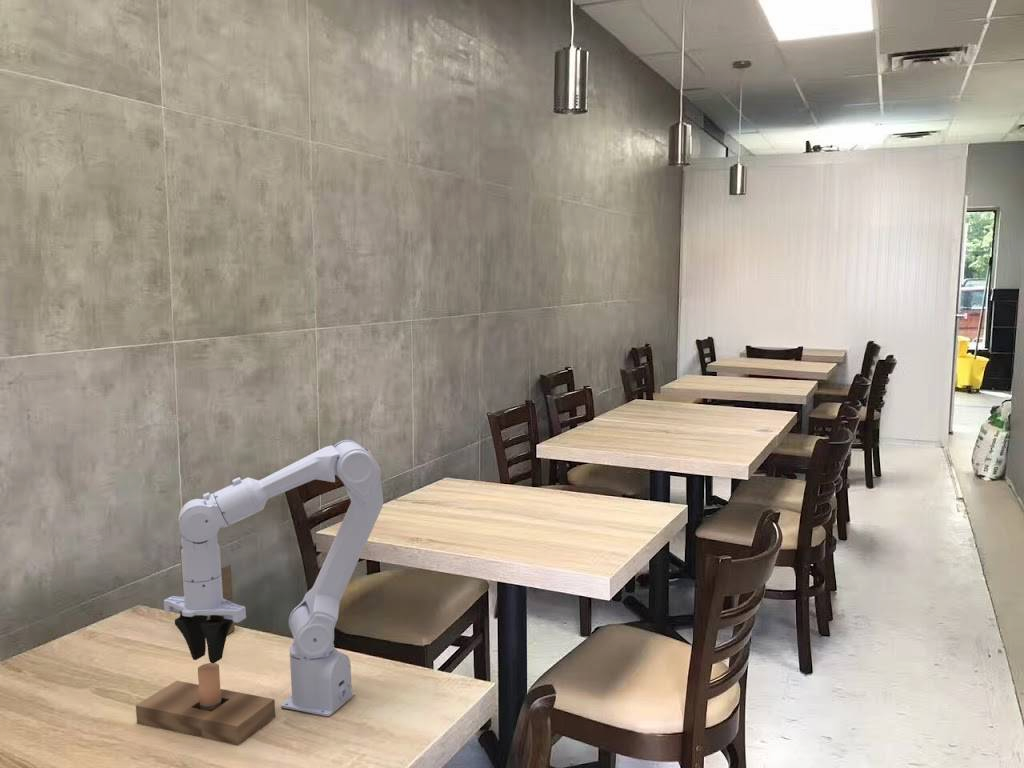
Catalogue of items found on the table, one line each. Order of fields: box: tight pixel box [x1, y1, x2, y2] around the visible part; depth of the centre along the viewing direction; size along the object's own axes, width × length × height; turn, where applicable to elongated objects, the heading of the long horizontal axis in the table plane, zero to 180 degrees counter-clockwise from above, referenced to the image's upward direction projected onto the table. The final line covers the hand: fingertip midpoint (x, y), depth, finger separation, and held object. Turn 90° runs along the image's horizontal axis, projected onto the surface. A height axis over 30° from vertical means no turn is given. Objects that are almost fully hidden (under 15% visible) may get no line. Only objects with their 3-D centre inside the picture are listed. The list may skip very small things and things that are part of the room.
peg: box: [197, 662, 222, 711], centre depth 134 cm, size 3×3×9 cm
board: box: [135, 680, 276, 746], centre depth 134 cm, size 20×9×3 cm, turn 69°
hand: (207, 658), depth 133 cm, fingers open, 3 cm apart
